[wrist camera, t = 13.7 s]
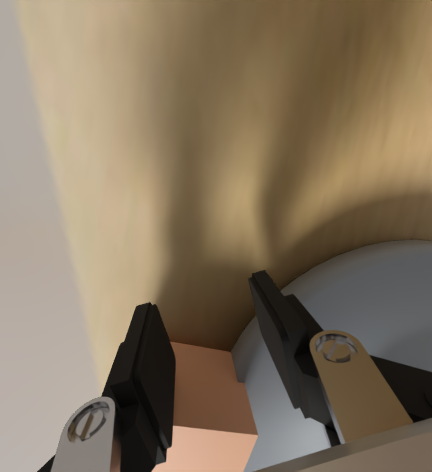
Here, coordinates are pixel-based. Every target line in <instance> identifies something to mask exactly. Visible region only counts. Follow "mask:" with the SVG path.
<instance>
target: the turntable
mask: <svg viewBox="0 0 432 472" xmlns="http://www.w3.org/2000/svg"><path fill="white" fill-rule="evenodd" d="M281 293H282V294H283V296H286V295H290V294H294V295H295V296H296V297H297V298H298V300H299V301H300V302H301V303H302V305H303V306H304V307H305V308H306V309H307V311H308V312H309V313H310V314H311V315H312V317H313V318H314V319H315V320H316V322H317V323H318V324H319V325H320V326H321V328H322V329H323V330H324V331H326V330H338V331H343V332H346V333H349V334H351V335H352V336H354V337H356V338H357V339H358V340H359V341H360V342H361V344H362V345H363V347H364V348H365V350H366V351H367V353H368V354H369V355H372V356H375V357H379V358H383V359H386V360H390V361H394V362H397V363H401V364H405V365H408V366H412V367H415V368H419V369H423V370H426V371H430V372H432V241H429V240H413V239H410V240H397V241H387V242H382V243H377V244H372V245H367V246H363V247H360V248H357V249H354V250H351V251H349V252H346V253H343V254H340V255H338V256H336V257H334V258H331V259H329V260H327V261H325V262H323V263H321V264H319V265H317V266H315V267H314V268H312V269H310V270H309V271H307V272H306V273H304V274H302V275H301V276H299V277H298V278H296V279H295V280H293V281H292V282H291V283H290V284H288V285H287V286H286V287H284V288H283V289H282V290H281ZM170 343H171V346H172V348H173V351H174V354H175V358H176V372H175V394H174V416H173V438H172V446H171V448H167V458H166V462H164V463H161V464H158V465H156V466H155V467H154V469H153V470H152V471H151V472H253V471H257V470H260V469H263V468H266V467H269V466H272V465H276V464H279V463H282V462H285V461H289V460H292V459H295V458H298V457H302V456H305V455H308V454H311V453H315V452H318V451H321V450H324V449H328V448H329V445H328V442H327V439H326V436H325V433H324V430H323V427H322V423H320V422H318V421H316V420H314V419H311V418H307V419H305V418H304V416H303V413H302V411H301V409H300V408H298V409H294V407H293V405H292V403H291V401H290V398H289V396H288V394H287V391H286V389H285V387H284V385H283V382H282V380H281V378H280V376H279V373H278V371H277V369H276V367H275V364H274V362H273V360H272V358H271V355H270V353H269V351H268V348H267V346H266V344H265V342H264V339H263V337H262V334H261V331H260V328H259V323H258V319H257V315H255V317H254V318H253V319H252V320H251V322H250V323H249V324H248V325H247V327H246V328H245V329H244V331H243V332H242V334H241V335H240V337H239V339H238V340H237V342H236V344H235V345H234V347H233V349H232V351H231V352H228V351H222V350H216V349H211V348H205V347H199V346H193V345H188V344H182V343H176V342H170Z"/></svg>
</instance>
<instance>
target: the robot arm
mask: <svg viewBox="0 0 432 472" xmlns="http://www.w3.org/2000/svg"><path fill="white" fill-rule="evenodd" d="M248 279H249V284H250V288H251V293H252V297H253V301H254V306H255V310H256V315H257V319H258V323H259V328H260V331H261V334H262V337H263V339H264V342H265V344H266V346H267V348H268V351H269V353H270V355H271V358H272V360H273V362H274V364H275V367H276V369H277V371H278V373H279V376H280V378H281V380H282V382H283V385H284V387H285V389H286V391H287V394H288V396H289V398H290V401H291V403H292V405H293V407H294V409H298V408H300V409H301V411H302V413H303V416H304V418H305V419H307V418H311V419H314V420H316V421H318V422H320V423H322V427H323V430H324V433H325V436H326V439H327V442H328V445H329V448H328V449H324V450H321V451H318V452H315V453H311V454H308V455H305V456H302V457H298V458H295V459H292V460H289V461H285V462H282V463H279V464H276V465H272V466H269V467H266V468H263V469H260V470H257V471H253V472H432V372H430V371H426V370H423V369H419V368H415V367H412V366H408V365H405V364H401V363H397V362H394V361H390V360H386V359H383V358H379V357H375V356H372V355H369V354H368V353H367V351H366V350H365V348H364V347H363V345H362V344H361V342H360V341H359V340H358V339H357V338H356V337H354V336H352V335H351V334H349V333H346V332H343V331H338V330H326V331H324V330H323V329H322V328H321V326H320V325H319V324H318V323H317V322H316V320H315V319H314V318H313V317H312V315H311V314H310V313H309V312H308V311H307V309H306V308H305V307H304V306H303V305H302V303H301V302H300V301H299V300H298V298H297V297H296V296H295V295H294V294H290V295H286V296H283V294H282V293H281V291H280V290H279V289H278V287H277V286H276V285H275V283H274V282H273V281H272V279H271V278H270V277H269V275H268V274H267V272H266V271H265V270H263V271H259V272H256V273H252V277H250V278H248ZM175 372H176V358H175V354H174V351H173V348H172V346H171V343H170V340H169V337H168V335H167V332H166V329H165V327H164V324H163V321H162V318H161V316H160V313H159V310H158V308H157V306H156V304H154V305H152V304H151V303H150V302H149V303H145V304H142V305H138V306H136V308H135V311H134V314H133V317H132V320H131V323H130V326H129V329H128V332H127V335H126V338H125V341H124V342H122V343H121V344H120V346H119V348H118V351H117V354H116V357H115V360H114V362H113V365H112V368H111V371H110V374H109V376H108V379H107V382H106V385H105V388H104V390H103V393H102V396H101V397H98V398H95V399H93V400H91V401H89V402H87V403H86V404H84V405H83V406H82V407H80V408H79V409H78V410H77V411H76V412H75V413H74V414H73V415H72V416H71V417H70V419H69V420H68V422H67V423H66V425H65V427H64V429H63V432H62V434H61V437H60V441H59V445H58V448H57V451H56V454H55V455H54V456H53V457H52V458H51V459H50V460H49V461H48V462H47V463H46V464H45V465H44V466H43V467H42V468H41V469H40V470H38V471H37V472H151V471H152V470H153V469H154V467H155V466H156V465H158V464H161V463H164V462H166V458H167V448H171V446H172V438H173V416H174V394H175Z"/></svg>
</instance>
